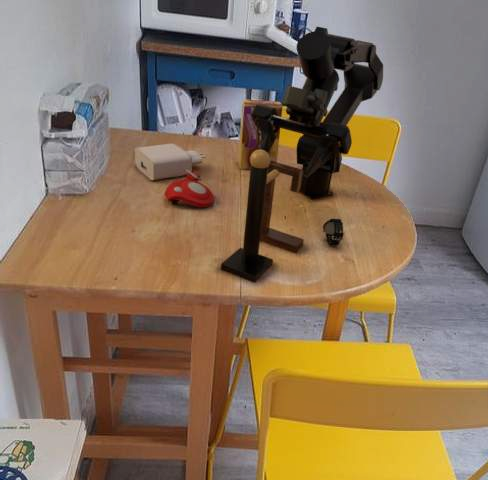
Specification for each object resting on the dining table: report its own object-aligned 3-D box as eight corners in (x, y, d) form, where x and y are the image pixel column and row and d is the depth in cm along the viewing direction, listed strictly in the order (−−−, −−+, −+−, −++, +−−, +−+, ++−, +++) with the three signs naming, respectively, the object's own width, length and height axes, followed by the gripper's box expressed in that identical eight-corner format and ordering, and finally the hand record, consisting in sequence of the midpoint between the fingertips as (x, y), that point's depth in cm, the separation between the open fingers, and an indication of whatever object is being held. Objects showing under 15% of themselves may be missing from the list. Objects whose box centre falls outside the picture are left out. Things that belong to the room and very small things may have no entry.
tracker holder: (224, 201, 100) (179, 197, 94) (215, 218, 103) (172, 215, 97) (200, 165, 107) (157, 159, 101) (193, 182, 109) (151, 177, 103)
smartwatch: (343, 240, 95) (348, 216, 92) (339, 253, 91) (344, 229, 88) (321, 235, 96) (326, 212, 93) (317, 248, 91) (322, 224, 89)
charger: (214, 172, 115) (153, 182, 107) (194, 158, 121) (135, 166, 112) (215, 152, 112) (152, 161, 104) (194, 138, 118) (134, 146, 110)
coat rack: (250, 243, 90) (261, 134, 79) (282, 255, 88) (298, 144, 77) (220, 269, 82) (228, 152, 71) (254, 283, 80) (268, 163, 69)
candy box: (273, 163, 123) (280, 100, 115) (276, 170, 120) (284, 106, 111) (237, 162, 121) (242, 98, 113) (239, 169, 118) (244, 103, 109)
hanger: (259, 231, 94) (267, 157, 86) (303, 245, 92) (315, 171, 83) (251, 237, 92) (259, 162, 84) (295, 253, 89) (308, 177, 81)
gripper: (260, 56, 88) (224, 133, 86) (360, 79, 82) (324, 161, 80) (274, 94, 99) (243, 163, 96) (364, 116, 93) (333, 190, 90)
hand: (283, 169), depth 90 cm, fingers open, 9 cm apart
